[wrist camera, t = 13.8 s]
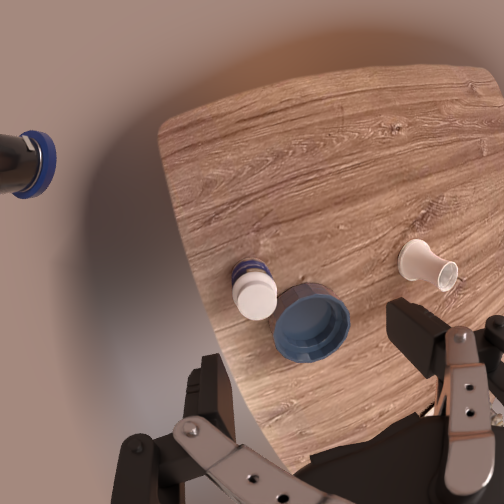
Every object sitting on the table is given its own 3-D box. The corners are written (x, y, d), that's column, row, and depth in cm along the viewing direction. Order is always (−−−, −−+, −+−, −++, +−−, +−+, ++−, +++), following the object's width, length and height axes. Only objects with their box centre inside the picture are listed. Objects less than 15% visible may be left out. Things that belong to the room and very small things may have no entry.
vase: (396, 243, 42) (432, 259, 33) (427, 235, 43) (464, 248, 33) (397, 283, 44) (430, 305, 35) (427, 272, 45) (461, 291, 35)
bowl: (263, 344, 45) (267, 361, 40) (276, 278, 42) (282, 291, 37) (328, 346, 46) (337, 362, 41) (346, 285, 43) (359, 297, 38)
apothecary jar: (473, 397, 62) (499, 424, 44) (487, 392, 63) (511, 416, 46) (456, 421, 64) (479, 449, 47) (472, 414, 66) (493, 439, 49)
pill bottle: (259, 250, 40) (270, 272, 31) (275, 282, 42) (289, 312, 32) (224, 266, 41) (224, 293, 31) (241, 298, 42) (245, 331, 32)
